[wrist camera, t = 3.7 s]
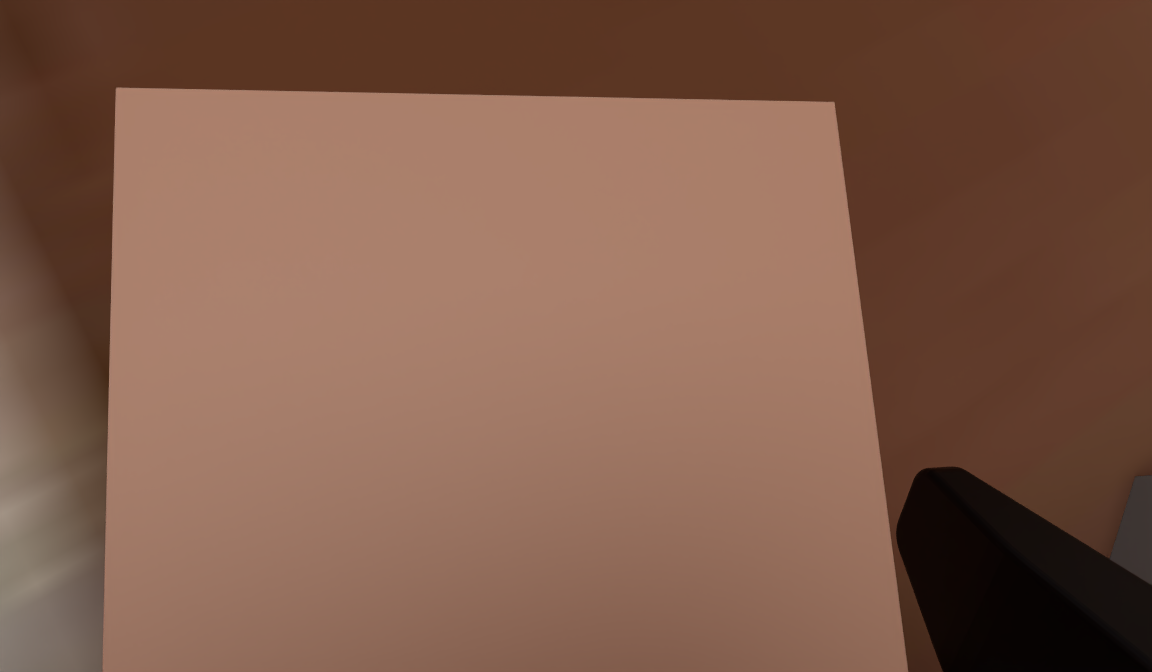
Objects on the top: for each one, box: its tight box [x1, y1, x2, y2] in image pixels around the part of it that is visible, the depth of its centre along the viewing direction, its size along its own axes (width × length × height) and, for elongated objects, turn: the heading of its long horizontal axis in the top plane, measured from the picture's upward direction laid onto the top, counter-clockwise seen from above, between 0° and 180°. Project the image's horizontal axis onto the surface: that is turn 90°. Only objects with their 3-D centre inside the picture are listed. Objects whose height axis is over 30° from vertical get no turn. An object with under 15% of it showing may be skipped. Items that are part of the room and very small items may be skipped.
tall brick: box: [103, 88, 908, 672], centre depth 12 cm, size 6×6×11 cm
